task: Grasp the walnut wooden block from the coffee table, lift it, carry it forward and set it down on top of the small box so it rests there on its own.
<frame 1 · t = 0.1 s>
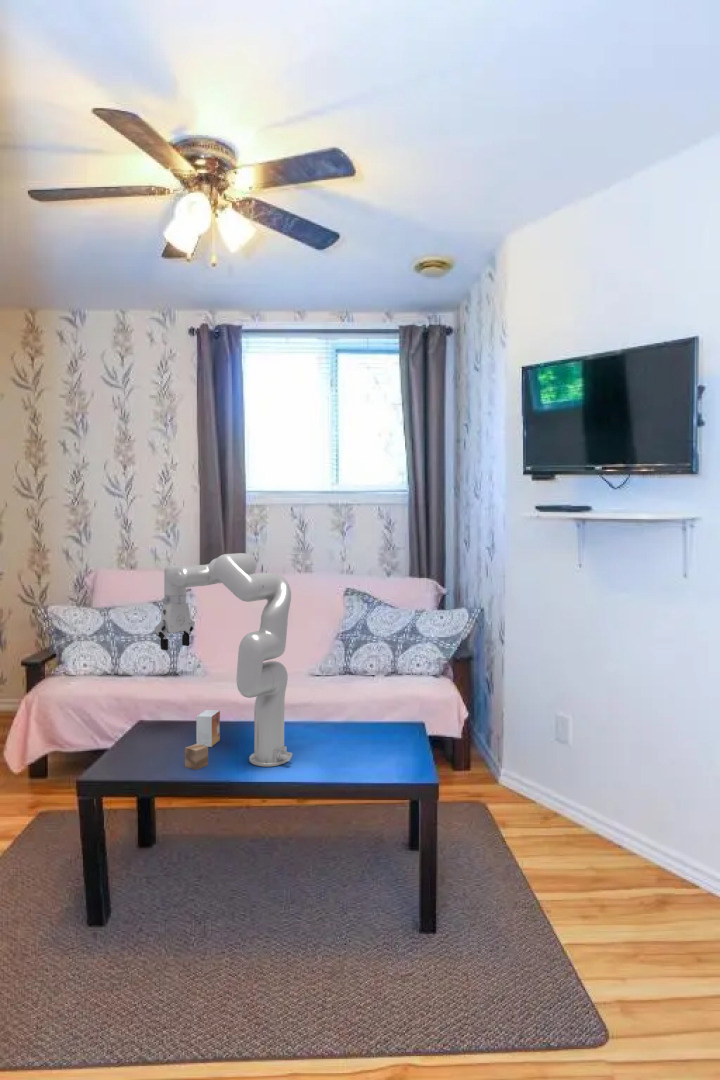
hand: (175, 647, 239), 31 cm above the table, fingers open, 9 cm apart
walnut block: (196, 766, 209), on the table
small box: (208, 743, 231), on the table
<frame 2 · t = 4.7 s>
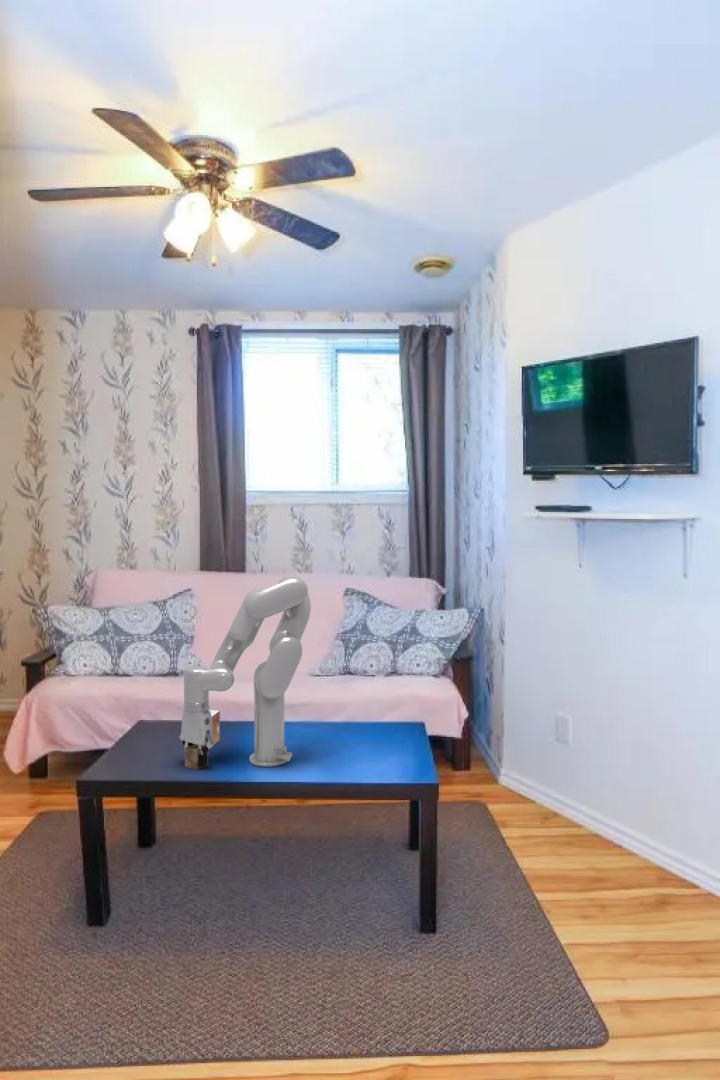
hand: (196, 763, 209), 1 cm above the table, fingers closed on walnut block, 5 cm apart
walnut block: (196, 766, 209), on the table, touching gripper
everything else where it was.
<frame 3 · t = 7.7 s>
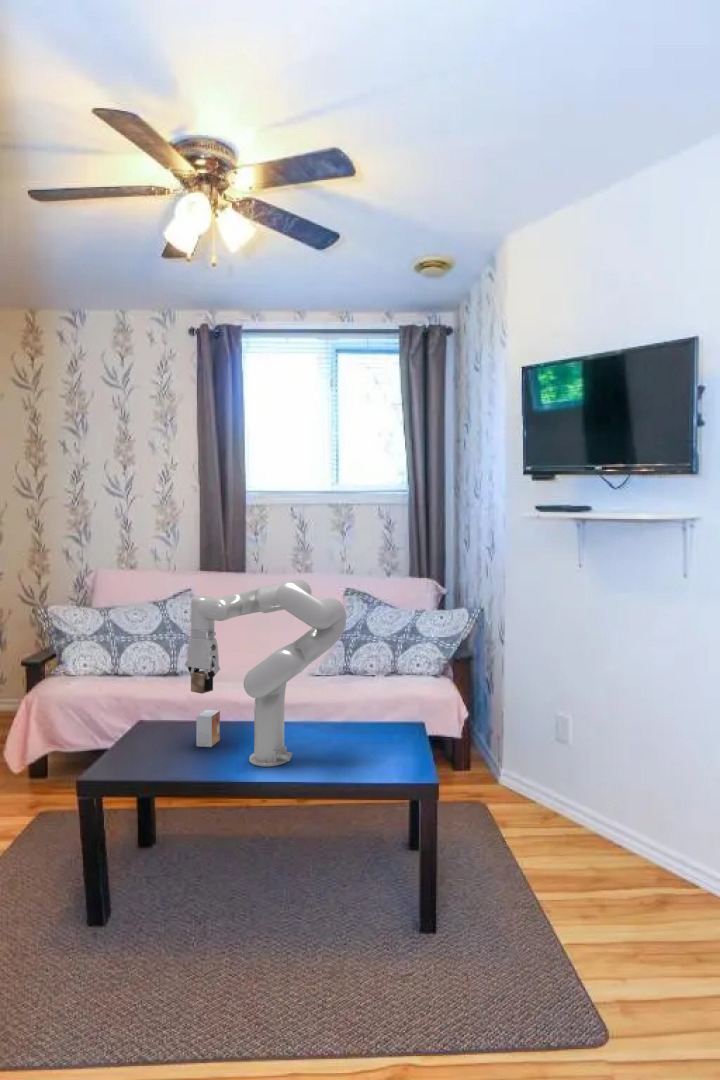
hand: (202, 688, 220), 22 cm above the table, fingers closed on walnut block, 5 cm apart
walnut block: (201, 690, 220), point 21 cm above the table, touching gripper
everything else where it was.
when the fingers open (13 cm above the table, at t = 10.7 s): walnut block drops 2 cm, resting on small box.
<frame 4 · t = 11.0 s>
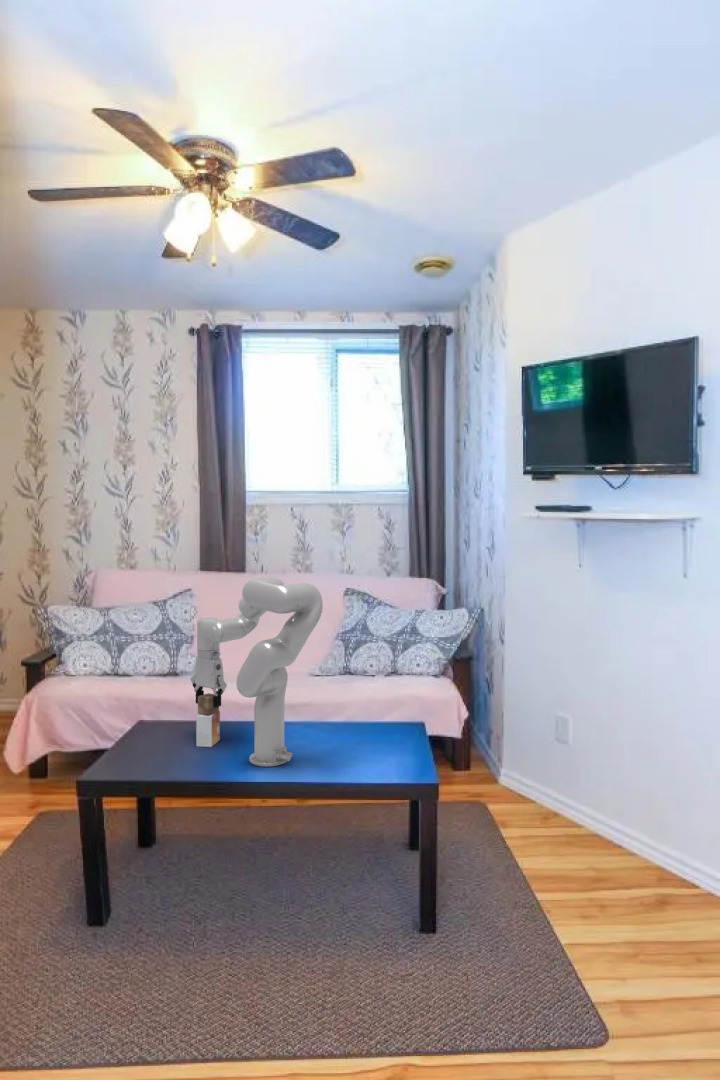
hand: (208, 704, 230), 13 cm above the table, fingers open, 8 cm apart
walnut block: (208, 713, 230), point 10 cm above the table, touching small box
small box: (208, 743, 231), on the table, touching walnut block
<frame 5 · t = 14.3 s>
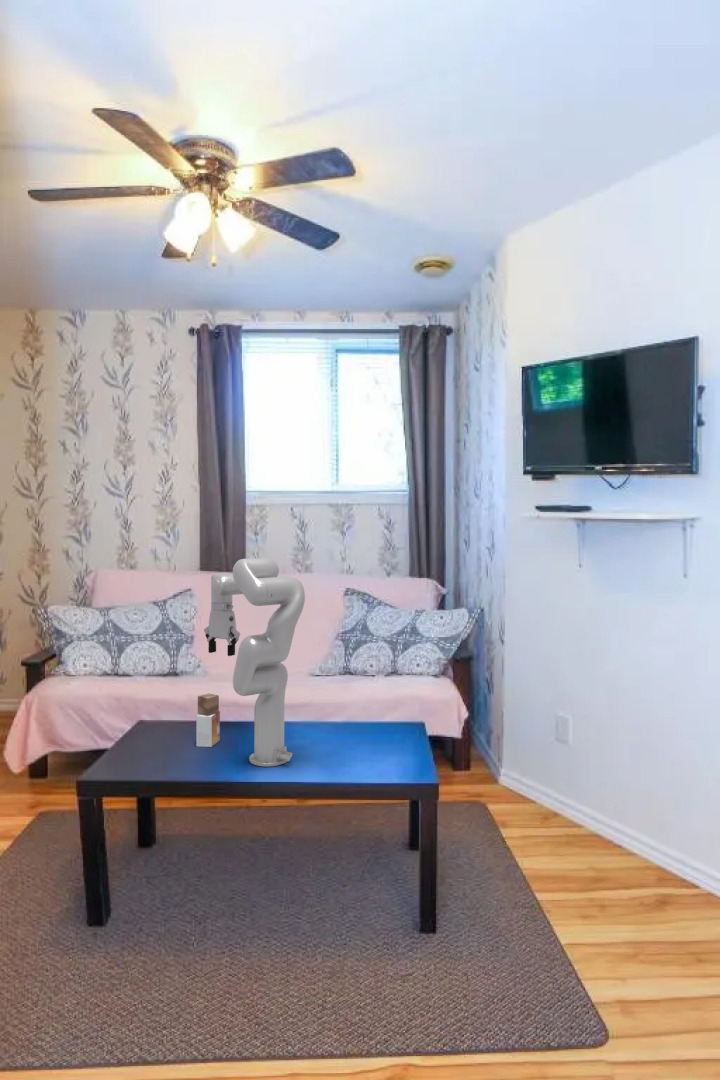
hand: (221, 653, 243), 28 cm above the table, fingers open, 9 cm apart
nothing on the table moved.
at the end: walnut block inside the target area on the small box (0.1 cm from its centre), point 10.7 cm above the small box's base; walnut block tilted 0°; walnut block touching small box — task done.
